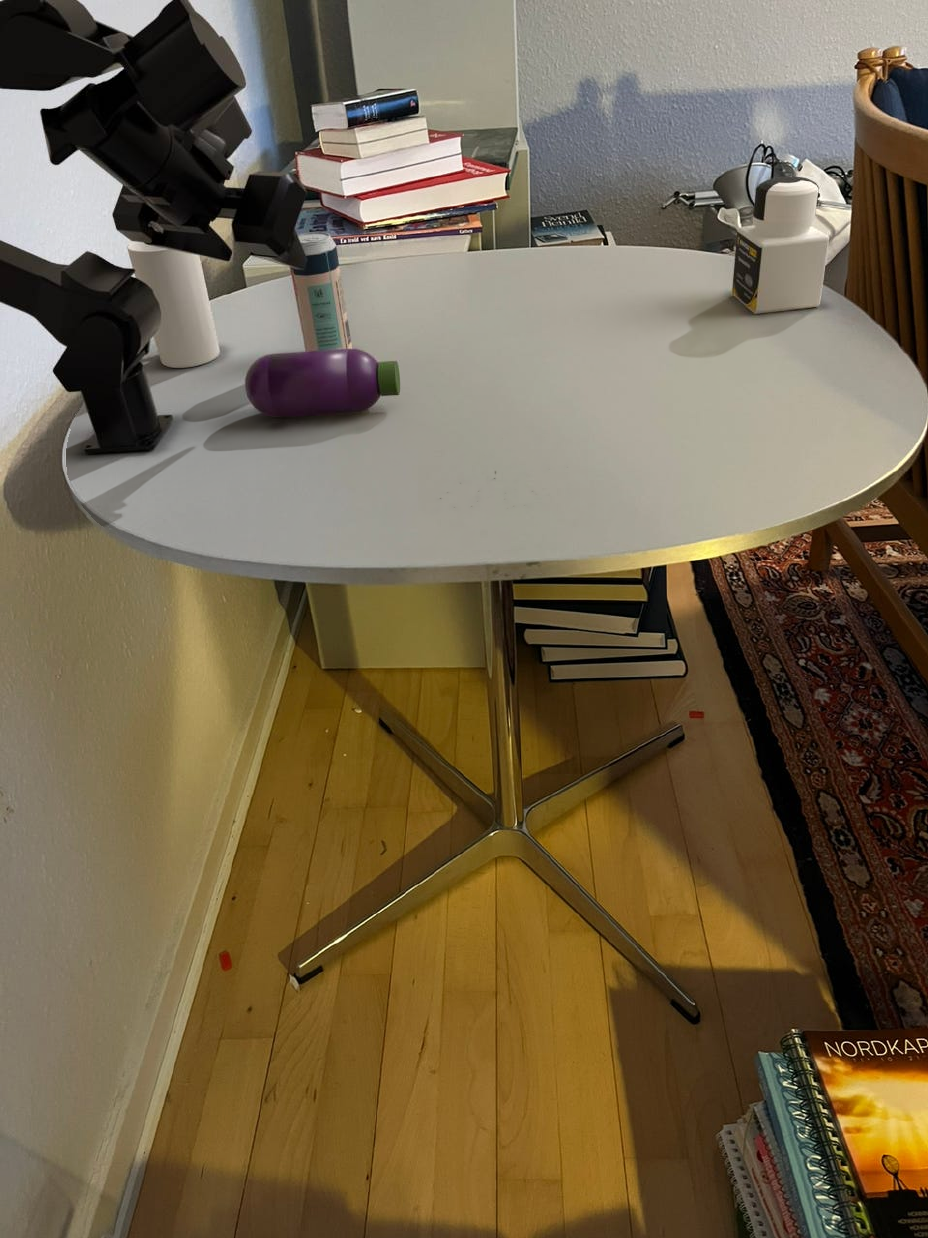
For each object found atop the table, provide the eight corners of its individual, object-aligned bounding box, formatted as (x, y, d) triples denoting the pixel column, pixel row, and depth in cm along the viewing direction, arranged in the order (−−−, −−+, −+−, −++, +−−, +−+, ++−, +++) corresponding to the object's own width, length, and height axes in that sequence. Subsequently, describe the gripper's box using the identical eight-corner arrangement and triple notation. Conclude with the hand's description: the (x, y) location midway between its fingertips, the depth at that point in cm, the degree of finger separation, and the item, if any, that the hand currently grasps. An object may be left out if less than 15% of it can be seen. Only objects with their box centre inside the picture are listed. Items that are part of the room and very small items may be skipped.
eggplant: (259, 404, 90) (246, 346, 86) (404, 394, 89) (396, 336, 85) (246, 429, 85) (232, 369, 82) (398, 419, 84) (390, 359, 81)
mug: (218, 365, 99) (189, 246, 92) (154, 372, 99) (120, 254, 92) (229, 333, 107) (203, 222, 100) (170, 340, 107) (140, 229, 100)
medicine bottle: (730, 294, 104) (740, 176, 97) (793, 287, 104) (808, 169, 97) (753, 315, 98) (766, 191, 91) (820, 307, 98) (838, 183, 91)
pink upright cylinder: (334, 345, 101) (314, 228, 94) (362, 354, 98) (344, 234, 91) (298, 359, 98) (275, 240, 91) (325, 369, 96) (304, 246, 88)
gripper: (267, 57, 70) (375, 184, 83) (98, 61, 78) (222, 176, 92) (217, 196, 69) (334, 301, 83) (53, 185, 78) (183, 282, 91)
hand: (266, 260), depth 87 cm, fingers open, 9 cm apart
